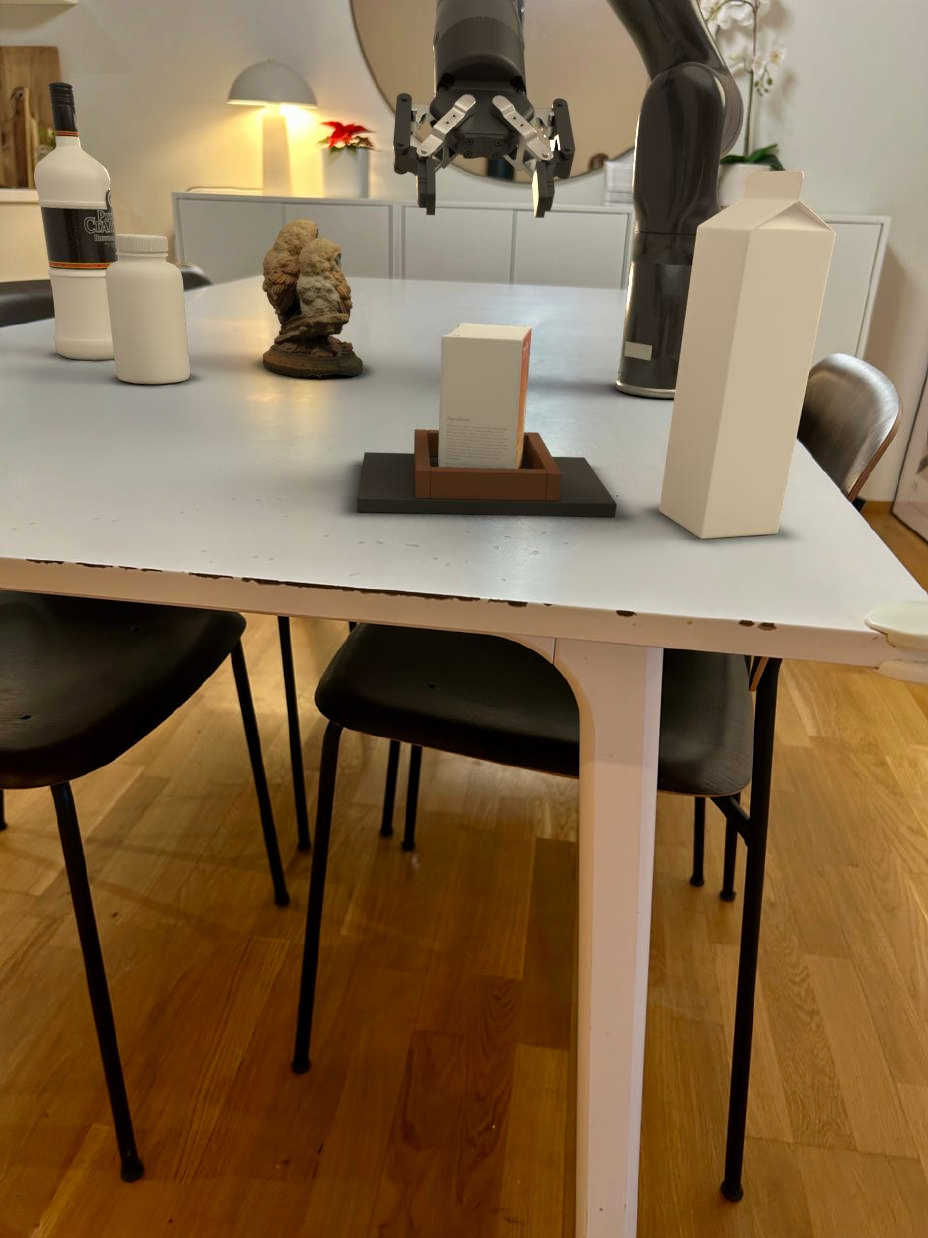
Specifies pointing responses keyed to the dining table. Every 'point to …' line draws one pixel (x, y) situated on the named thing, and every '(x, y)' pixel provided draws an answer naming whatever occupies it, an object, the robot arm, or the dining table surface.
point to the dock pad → (481, 484)
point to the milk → (745, 359)
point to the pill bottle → (147, 312)
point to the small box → (483, 396)
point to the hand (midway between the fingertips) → (485, 208)
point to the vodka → (76, 236)
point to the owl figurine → (308, 304)
